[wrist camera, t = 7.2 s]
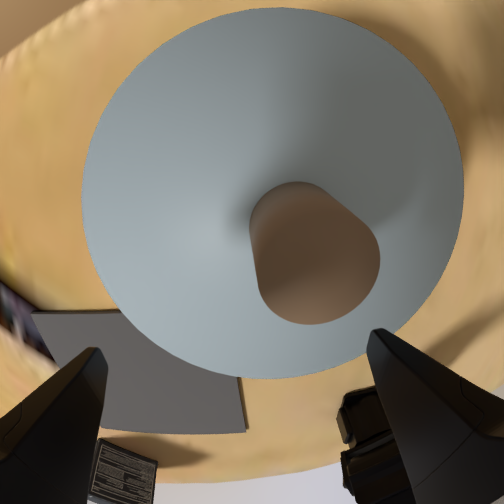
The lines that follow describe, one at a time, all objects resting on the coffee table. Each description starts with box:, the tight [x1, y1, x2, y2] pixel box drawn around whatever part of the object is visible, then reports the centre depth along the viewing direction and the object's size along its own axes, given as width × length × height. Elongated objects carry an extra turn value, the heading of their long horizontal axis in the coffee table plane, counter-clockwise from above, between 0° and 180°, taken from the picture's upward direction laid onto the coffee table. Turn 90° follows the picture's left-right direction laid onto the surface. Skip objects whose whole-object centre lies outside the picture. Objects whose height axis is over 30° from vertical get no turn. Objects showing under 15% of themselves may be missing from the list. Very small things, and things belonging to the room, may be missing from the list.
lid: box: [81, 7, 464, 379], centre depth 11 cm, size 19×19×5 cm
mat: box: [31, 311, 246, 434], centre depth 27 cm, size 20×20×1 cm
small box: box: [87, 439, 158, 504], centre depth 31 cm, size 11×6×10 cm, turn 52°
